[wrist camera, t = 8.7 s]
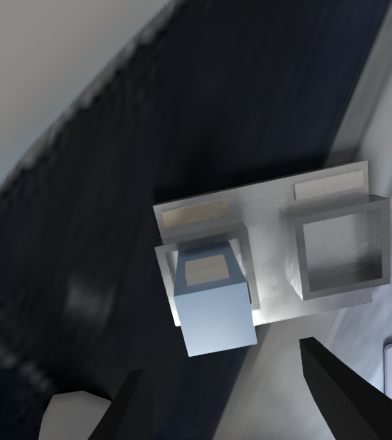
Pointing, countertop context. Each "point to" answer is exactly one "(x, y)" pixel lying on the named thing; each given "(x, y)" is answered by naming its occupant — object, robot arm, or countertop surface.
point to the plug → (212, 300)
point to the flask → (72, 416)
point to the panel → (288, 239)
